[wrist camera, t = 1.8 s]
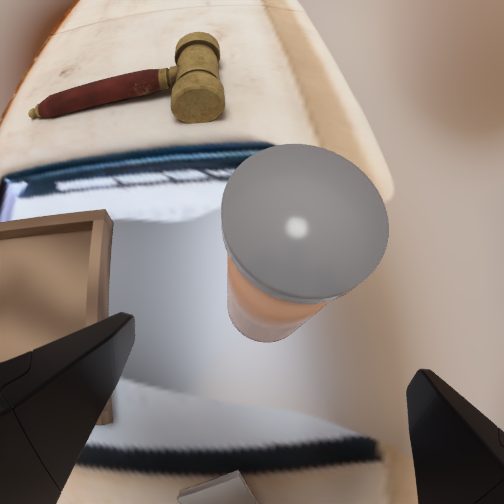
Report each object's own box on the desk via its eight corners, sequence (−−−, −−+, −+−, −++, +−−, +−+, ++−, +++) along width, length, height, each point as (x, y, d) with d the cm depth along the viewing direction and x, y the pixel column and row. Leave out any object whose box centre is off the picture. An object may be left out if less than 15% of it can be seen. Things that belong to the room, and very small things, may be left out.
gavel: (4, 134, 22) (35, 72, 26) (25, 162, 26) (49, 99, 30) (223, 83, 23) (217, 28, 27) (226, 122, 27) (220, 62, 31)
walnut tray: (112, 422, 17) (101, 425, 15) (-24, 401, 16) (-40, 400, 14) (113, 222, 22) (105, 209, 20) (-11, 236, 21) (-23, 226, 19)
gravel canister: (312, 340, 20) (406, 285, 9) (228, 349, 20) (227, 303, 9) (300, 262, 22) (364, 146, 11) (221, 267, 22) (217, 145, 11)
